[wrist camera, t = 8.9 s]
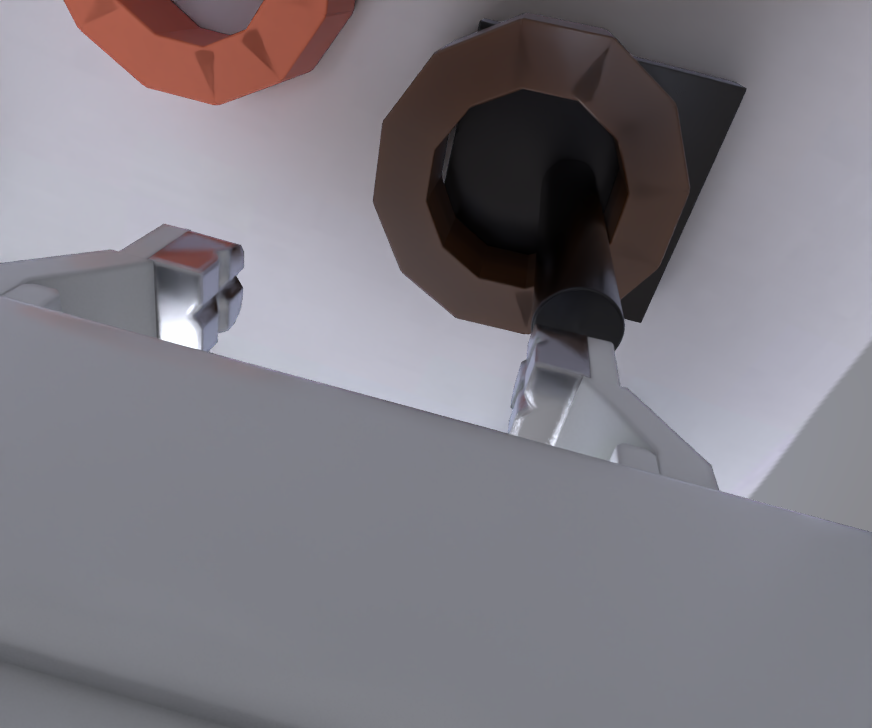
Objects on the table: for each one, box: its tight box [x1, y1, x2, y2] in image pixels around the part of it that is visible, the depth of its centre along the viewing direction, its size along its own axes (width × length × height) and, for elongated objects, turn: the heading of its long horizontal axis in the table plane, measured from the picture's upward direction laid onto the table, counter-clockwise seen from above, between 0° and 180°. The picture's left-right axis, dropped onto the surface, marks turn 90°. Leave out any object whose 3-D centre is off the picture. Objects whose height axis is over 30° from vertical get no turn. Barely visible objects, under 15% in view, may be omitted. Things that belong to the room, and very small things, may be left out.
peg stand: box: [444, 18, 746, 351], centre depth 19 cm, size 9×9×12 cm
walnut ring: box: [373, 13, 690, 334], centre depth 21 cm, size 10×10×3 cm
